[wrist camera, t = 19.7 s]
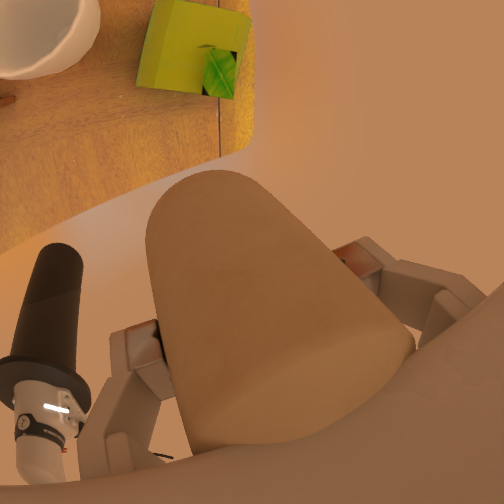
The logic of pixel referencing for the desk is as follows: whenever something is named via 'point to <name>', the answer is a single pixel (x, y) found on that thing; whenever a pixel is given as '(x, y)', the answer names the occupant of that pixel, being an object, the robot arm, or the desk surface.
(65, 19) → the cup
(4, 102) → the door
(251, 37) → the desk surface
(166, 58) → the apple
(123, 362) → the robot arm
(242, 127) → the desk surface
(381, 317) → the candle
